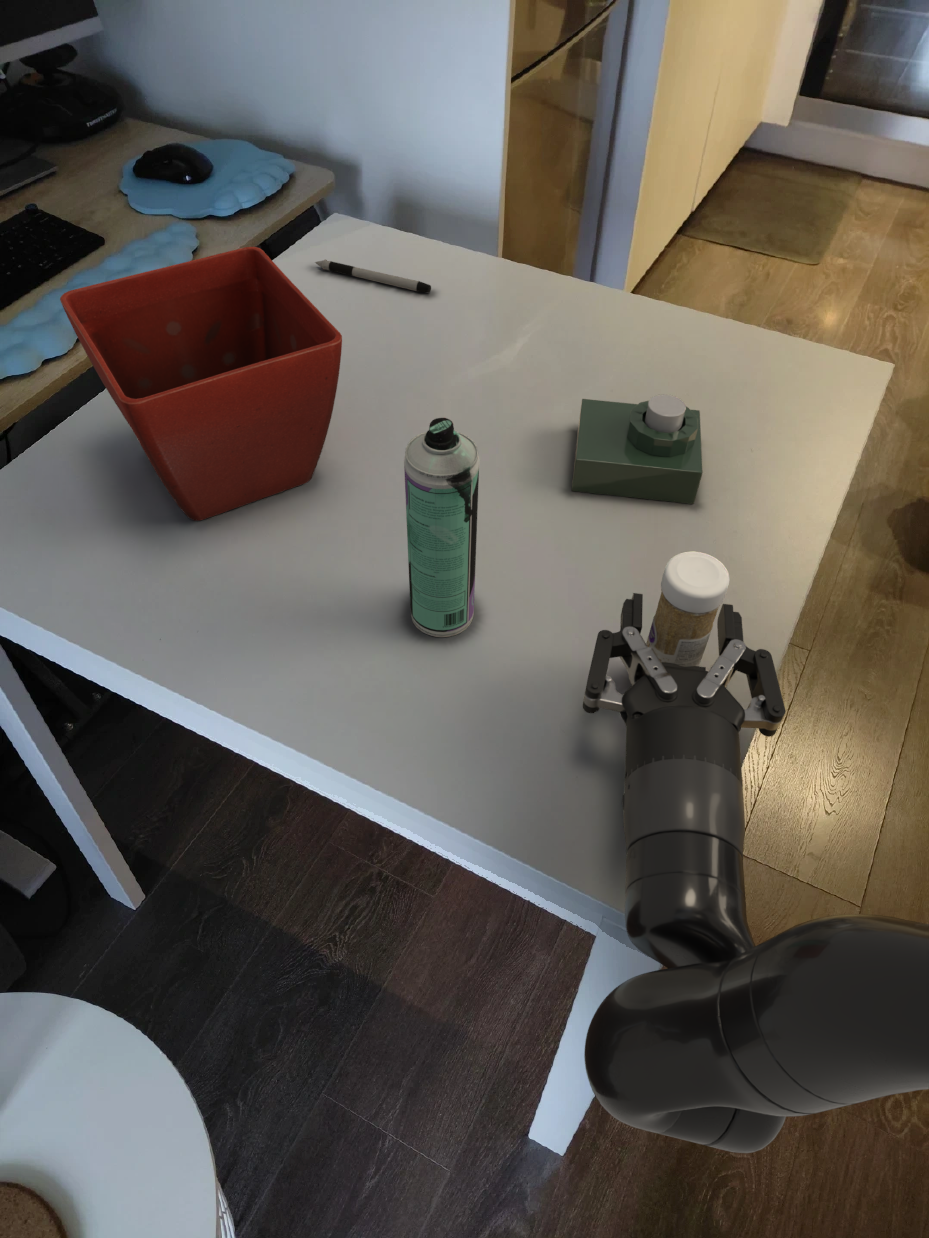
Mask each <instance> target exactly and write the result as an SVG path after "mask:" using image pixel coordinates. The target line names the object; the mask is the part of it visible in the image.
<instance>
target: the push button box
mask: <svg viewBox="0 0 929 1238" xmlns="http://www.w3.org/2000/svg"><path fill="white" fill-rule="evenodd" d="M648 402H649V400H645V401H641V402H638V403H629V402H619V401H610V400H601V399H588V398H582V399H581V402H580V411H579V417H578V424H577V425H578V426H577V434H576V444H575V453H574V462H573V472H572V480H571V491H572V492H579V493H589V494H596V495H597V494H598V495H608V496H615V497H623V498H635V499H644V500H651V501H652V500H653V501H661V502H669V503H670V502H671V503H680V504H690V505H694V504H695V501H696V499H697V498H696V497H697V494H698V490H699V487H700V483H701V480H702V476H703V473H704V472H703V453H702V452H703V451H702V430H701V411H700V410H699V409H691V408H690V407H688V406H686V411H685V415H684V419H683V423H682V427H681V428H680V429H679V430H678V431H675V432H671V433H665V432H658V431H656V430H653V429H651V428H649V427H648V426H647V425H646V423H645V416H646V411H647V406H648Z"/></svg>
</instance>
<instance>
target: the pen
mask: <svg viewBox="0 0 929 1238" xmlns="http://www.w3.org/2000/svg"><path fill="white" fill-rule="evenodd" d="M314 263H315V264H316V265H317V266H319V267H320V268H321V269H322V270H324V271H329V272H333V273H338V274H342V275H346V276H350V277H355V278H356V277H357V278H361V279H365V280H368V281H371V282H372V281H373V282H378V283H381V284H386V285H390V286H393V287H398V288H402V289H406V290H411V291H413V292H414V291H415V292H417V293H418V292H419V293H427V294H430V293H431V291H432V285H431V284H429V283H426V282H424V281H423V282H422V281H420V280H416V279H411V278H406V277H402V276H397V275H393V274H388V273H384V272H381V271H380V272H379V271H374V270H370V269H365V268H363V267H362V268H361V267H357V266H353V265H349V264H345V263H340V262H336V261H332V260H328V259H324V260H319V261H315V262H314Z"/></svg>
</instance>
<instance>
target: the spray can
mask: <svg viewBox="0 0 929 1238" xmlns="http://www.w3.org/2000/svg"><path fill="white" fill-rule="evenodd" d="M428 426H429V427H428V430H427V431H424V432H422V433H419V434H417V435H416V436H414V437H413V438H411V439H410V441H409V442H408V443H407V445H406V447H405V451H404V460H403V469H404V492H405V493H404V494H405V512H406V513H405V517H406V534H407V535H406V539H407V560H408V561H407V562H408V585H409V586H408V587H409V606H410V607H409V609H410V616H411V617H410V618H411V621H412V623H413V624H414V626H415V627H416V628H417V630H419V631H420V632H422V633H424V634H426V635H428V636H431V637H435V638H450V637H454V636H457V635H459V634H462V633H463V632H464V631H465V630H467V629H468V627H470V626H471V623H472V621H473V619H474V612H475V593H476V591H475V587H476V566H477V565H476V564H477V563H476V561H477V535H478V531H477V530H478V510H479V509H478V506H479V478H480V457H479V449H478V446H477V444H476V443H475V441H474V440H473V439H472V438H471V437H469V436H468V435H466V434H464V433H462V432H459V431H457V430H456V429H455V427H454V423H453V421H452V420H451V419H450V418H447V417H437V418H434V419H433V420H432V421H431V422H430V423H429V425H428Z"/></svg>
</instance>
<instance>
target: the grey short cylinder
mask: <svg viewBox="0 0 929 1238" xmlns="http://www.w3.org/2000/svg"><path fill="white" fill-rule="evenodd" d="M648 401H649V402H648V406H647V411H646V416H645V423H646V425H647V426H648V427H649V428H651V429H653V430H656V431H658V432H665V433H671V432H675V431H678V430H679V429H680V428H681V427H682V423H683V419H684V415H685V411H686V407H687V406H686V403H685V401H683V400H682V399H681V398H679V397H678V396H676V395H673V394H665V393H661V394H657V395H656V394H655V395H654V396H652V397H650V398H649V400H648Z"/></svg>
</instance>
